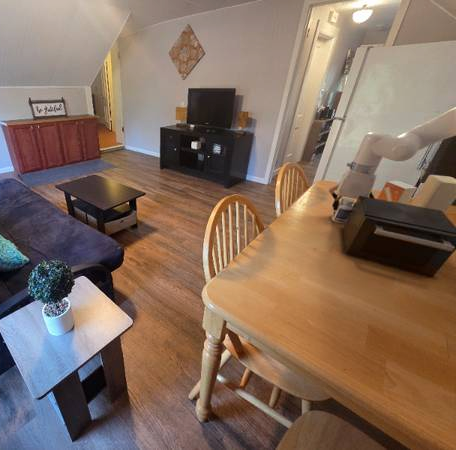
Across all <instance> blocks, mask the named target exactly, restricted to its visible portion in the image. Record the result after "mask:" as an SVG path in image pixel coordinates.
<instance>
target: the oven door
mask: <svg viewBox="0 0 456 450" xmlns="http://www.w3.org/2000/svg"><path fill="white" fill-rule="evenodd" d="M455 251H456V234H451V233H446V232H442V231H437V230H432V229H427V228H422V227H418V226H413V225H408V224H403V223H398V222H393V221H389V220H384V219H379V218H374V217H369V216H364V218H363V220H362V222H361V224H360V226H359V228H358V229H357V231H356V233H355V235H354V237H353V239H352V240H351V242H350V244H349V246H348V248H347V250H346V251H345V252H344V253H345V255H347V256H351V257H355V258H358V259H363V260H365V261H368V262H369V261H370V262H373V263H377V264H380V265H384V266H387V267H388V266H389V267H392V268H396V269H399V270H403V271H407V272H410V273H413V274H417V275H422V276H425V277H429V278H433V277H434V276H435V275H436V273H437V272H438V271H439V270H440V269H441V268H442V267H443V265H444V264H445V263H446V262H447V261H448V259H449V258H450V257H451V256H452V255H453V254H454V253H455Z"/></svg>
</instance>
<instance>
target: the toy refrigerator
mask: <svg viewBox="0 0 456 450" xmlns="http://www.w3.org/2000/svg"><path fill="white" fill-rule="evenodd" d="M455 201H456V178H455V177H452V176H447V175H438V174H429V175H428V177H427V178H426V180H425V181H424V183H423V184H422V185H421V187H420V188H419V190H418V192H417V193H416V194H415V196H414V198H413V199H412V201H411V203H410V204H409V205H413V206H418V207H424V208H429V209H435V210H440V211H442V212H443V213H444V214H445V215H446V213H447V211H448V210H449V209H450V207H451V206H452V205H453V204H454V202H455Z"/></svg>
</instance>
